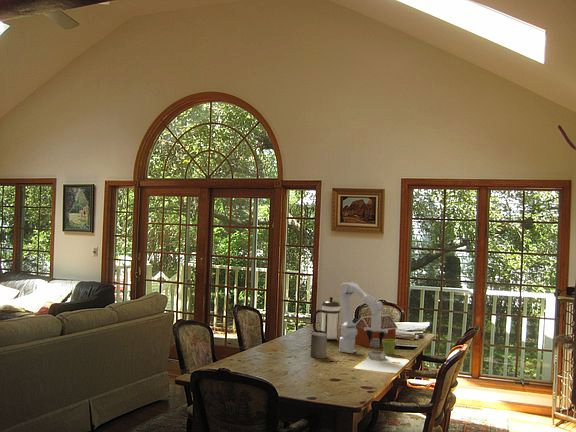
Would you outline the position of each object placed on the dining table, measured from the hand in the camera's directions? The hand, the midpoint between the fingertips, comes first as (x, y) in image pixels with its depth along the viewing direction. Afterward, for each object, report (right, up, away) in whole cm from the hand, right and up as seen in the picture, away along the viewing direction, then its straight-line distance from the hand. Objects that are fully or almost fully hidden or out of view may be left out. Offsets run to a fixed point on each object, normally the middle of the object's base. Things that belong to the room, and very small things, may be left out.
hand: (375, 343), depth 367 cm
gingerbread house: (+6, -10, +44) cm, 45 cm away
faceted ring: (+1, -9, +1) cm, 9 cm away
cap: (0, -2, 0) cm, 2 cm away
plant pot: (+10, -10, +14) cm, 20 cm away
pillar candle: (-35, -8, 0) cm, 36 cm away
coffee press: (-25, -9, +54) cm, 60 cm away
